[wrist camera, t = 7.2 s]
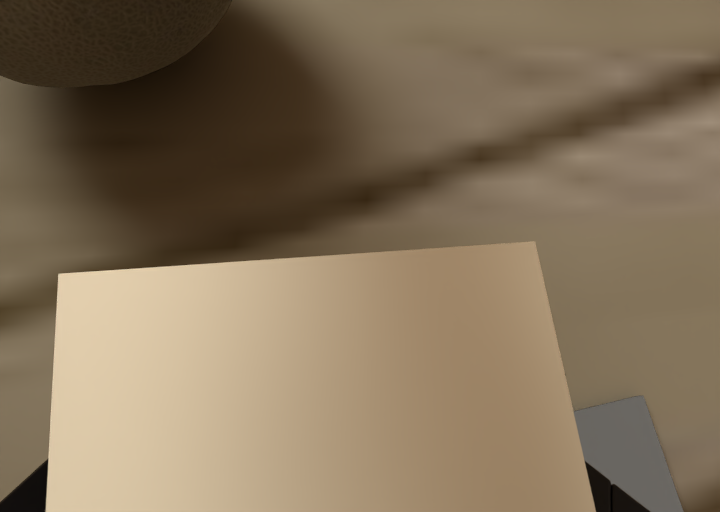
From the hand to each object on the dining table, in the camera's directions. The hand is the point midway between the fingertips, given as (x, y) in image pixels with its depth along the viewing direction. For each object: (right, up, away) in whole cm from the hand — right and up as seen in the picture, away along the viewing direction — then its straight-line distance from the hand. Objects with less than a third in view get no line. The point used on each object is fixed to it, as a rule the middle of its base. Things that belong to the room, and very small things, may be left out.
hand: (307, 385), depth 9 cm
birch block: (-1, -4, +6) cm, 7 cm away
